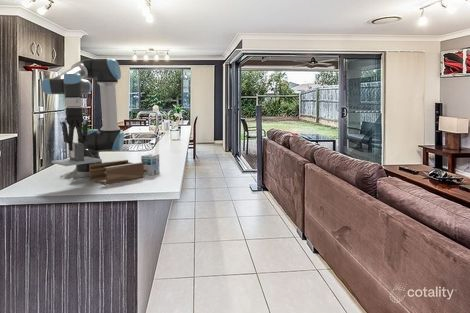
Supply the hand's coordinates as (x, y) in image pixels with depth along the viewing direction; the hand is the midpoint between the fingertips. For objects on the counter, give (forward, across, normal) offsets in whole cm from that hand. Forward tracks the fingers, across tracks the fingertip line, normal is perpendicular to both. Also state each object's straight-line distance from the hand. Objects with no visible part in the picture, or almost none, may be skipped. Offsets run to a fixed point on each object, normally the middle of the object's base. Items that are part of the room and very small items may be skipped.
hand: (76, 156), depth 186 cm
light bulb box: (+15, +44, 0) cm, 46 cm away
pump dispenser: (+15, +15, +18) cm, 27 cm away
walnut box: (+14, +22, 0) cm, 26 cm away
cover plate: (+3, 0, 0) cm, 3 cm away
